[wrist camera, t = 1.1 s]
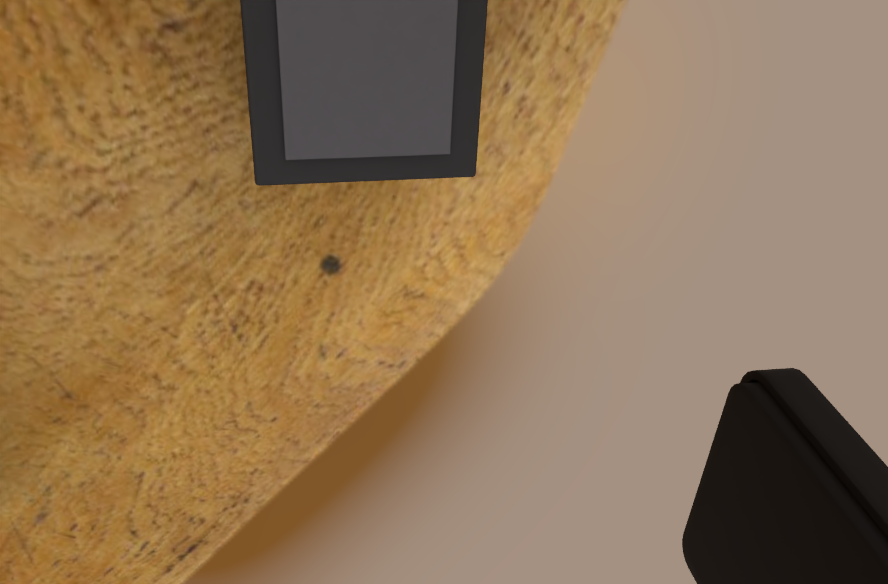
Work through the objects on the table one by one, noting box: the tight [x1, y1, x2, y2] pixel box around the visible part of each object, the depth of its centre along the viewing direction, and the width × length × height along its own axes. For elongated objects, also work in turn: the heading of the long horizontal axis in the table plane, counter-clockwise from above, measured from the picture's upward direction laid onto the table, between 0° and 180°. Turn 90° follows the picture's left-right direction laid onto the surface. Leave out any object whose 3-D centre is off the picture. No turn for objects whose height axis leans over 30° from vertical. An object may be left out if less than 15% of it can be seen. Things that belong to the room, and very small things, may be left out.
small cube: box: [240, 0, 488, 185], centre depth 21 cm, size 6×6×5 cm
